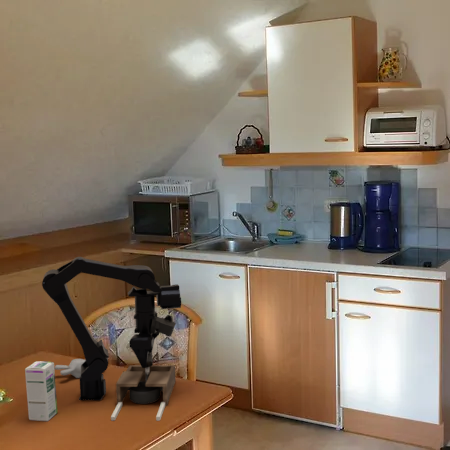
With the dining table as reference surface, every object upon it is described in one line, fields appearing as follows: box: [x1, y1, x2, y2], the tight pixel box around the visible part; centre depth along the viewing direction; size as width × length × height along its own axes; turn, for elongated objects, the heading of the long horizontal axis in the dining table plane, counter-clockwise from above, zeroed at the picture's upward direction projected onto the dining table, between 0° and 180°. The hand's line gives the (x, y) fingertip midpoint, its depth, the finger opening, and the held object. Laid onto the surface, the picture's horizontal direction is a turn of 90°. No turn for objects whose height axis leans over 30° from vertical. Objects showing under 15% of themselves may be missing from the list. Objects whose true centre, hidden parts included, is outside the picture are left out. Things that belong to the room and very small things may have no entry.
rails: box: [110, 401, 166, 422], centre depth 185 cm, size 13×10×1 cm
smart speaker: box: [128, 381, 162, 405], centre depth 195 cm, size 9×9×4 cm
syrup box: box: [24, 360, 59, 422], centre depth 183 cm, size 6×6×14 cm
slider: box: [129, 351, 163, 392], centre depth 200 cm, size 11×3×11 cm, turn 87°
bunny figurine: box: [54, 358, 86, 379], centre depth 215 cm, size 10×5×15 cm
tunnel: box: [115, 364, 176, 407], centre depth 199 cm, size 14×19×6 cm
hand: (146, 362), depth 199 cm, fingers open, 9 cm apart
